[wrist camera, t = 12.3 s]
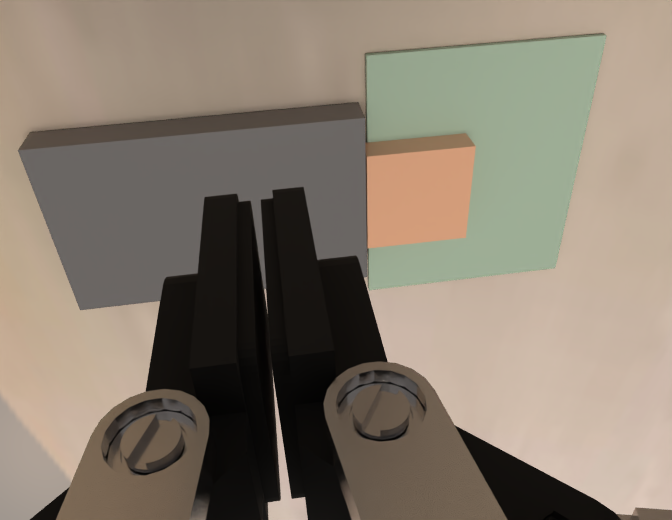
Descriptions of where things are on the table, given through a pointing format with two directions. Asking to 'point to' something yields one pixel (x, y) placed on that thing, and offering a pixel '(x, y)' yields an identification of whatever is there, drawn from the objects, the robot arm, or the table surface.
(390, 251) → the mat
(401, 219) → the terracotta tile
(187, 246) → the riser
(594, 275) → the table surface
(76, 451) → the table surface
